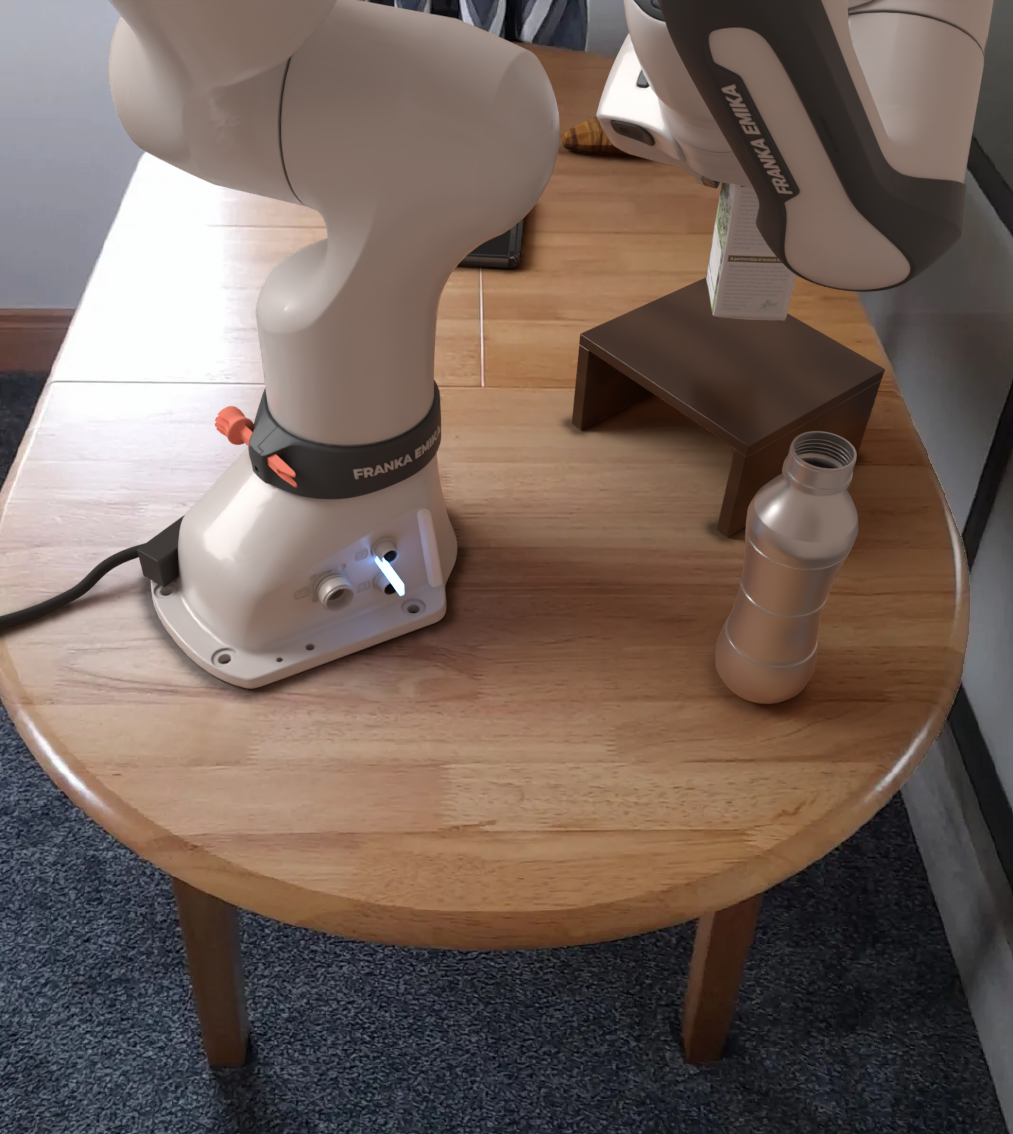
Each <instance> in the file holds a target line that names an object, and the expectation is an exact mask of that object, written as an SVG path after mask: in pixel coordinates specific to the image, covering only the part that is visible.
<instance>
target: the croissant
mask: <svg viewBox="0 0 1013 1134" xmlns="http://www.w3.org/2000/svg"><path fill="white" fill-rule="evenodd" d="M562 147H563V148H564V149H565V150H568V151H573V152H577V153H584V154H585V153H586V154H604V155H617V156H625V155H629V154H628V153H626V152H624V151H622V150H620V149H618V148H617V147H615V146H614V145H613V144H612V143H611V141H610V140H609V138H608V137H607V135H606V133H605V131H604V129H603V127H602V125H601V123H600V122H599V120H598V119H597V116H595V117H591V118H588V119H586V120H584V121H582V122H579V123H577V124H575V125H573V126H572V127H570V128H569V129H567V130H566V131H565V132H563V136H562Z"/></svg>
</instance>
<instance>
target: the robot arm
mask: <svg viewBox="0 0 1013 1134" xmlns="http://www.w3.org/2000/svg"><path fill="white" fill-rule="evenodd" d="M108 1H109V3H110V4H111V6H112V7H113V8H114V9H115V10H116V11H117V13H118V14H119V15H120V16H119V19H118V21H117V22H116V25H115V27H114V30H113V34H112V37H111V41H110V46H109V51H108V62H107V63H108V66H107V67H108V70H107V71H108V82H109V83H108V84H109V89H110V94H111V99H112V103H113V105H114V109H115V112H116V114H117V116H118V120H119V121H120V124H121V125H122V127H123V130H124V132H126V135H127V136H128V137H129V139H130V140H131V141H132V142H133V143H134V144H135V145H136V146H137V147H138V148H139V149H141V150H142V151H143V152H145V153H148V154H149V155H151V156H153V157H154V158H157V159H158V160H160V161H163V162H164V163H167V164H169V165H171V166H173V167H175V168H176V169H179V170H181V171H183V172H185V173H187V174H189V175H191V176H194V177H196V178H198V179H200V180H202V181H205V182H208V183H209V184H211V185H214V186H218V187H222V188H227V189H230V190H234V191H238V192H243V193H247V194H252V195H256V196H261V197H264V198H268V199H273V200H277V201H281V202H284V203H285V202H286V203H289V204H294V205H298V206H302V207H306V208H309V209H311V210H315V211H317V212H318V213H319V214H320V216H321V217H322V219H323V222H324V224H325V229H326V236H327V237H326V238H322V239H320V240H318V241H315V242H312V243H310V244H307V245H305V246H303V247H301V248H299V249H297V250H295V251H293V252H291V253H289V254H288V255H287V256H285V257H284V258H282V259H281V260H280V261H279V262H278V263H277V264H276V265H275V266H274V267H273V268H272V269H271V270H270V271H269V273H268V275H267V276H266V278H265V280H264V282H263V283H262V285H261V287H260V288H261V289H260V291H259V293H258V297H257V301H256V307H255V319H256V320H255V321H256V329H257V335H258V343H259V350H260V359H261V367H262V374H263V381H264V389H263V392H262V394H261V398H260V401H259V404H258V408H257V410H256V414H255V418H254V422H253V420H251V418H248V417H246V415H245V414H244V413H243V411H242V410H241V409H240V408H238V406H234V405H229V406H226V407H224V408H222V409H221V410H220V411H219V412H218V413H217V416H216V417H215V419H214V422H215V423H214V426H215V430H216V431H217V432H219V433H220V434H221V435H223V436H225V437H226V438H227V440H228V442H229V443H230V444H232V445H233V446H240V445H244V444H245V445H246V446H248V447H246V449H244V450H243V452H241V454H239V456H238V457H237V458H236V459H235V460H234V461H233V462H232V463H231V464H230V466H228V468H226V470H225V471H224V472H223V473H222V474H221V475H220V477H219V478H217V479H216V481H215V482H214V483H213V484H212V485H211V486H210V487H209V488H208V489H207V490H206V491H205V492H204V494H202V496H201V497H200V498H198V500H196V502H194V504H193V505H192V506H190V508H189V509H187V511H186V512H185V514H184V515H182V516H181V517H180V518H178V519H177V520H175V521H174V522H173V523H171V524H170V525H168V526H167V527H165V528H164V529H163V530H162V531H160V532H159V533H158V534H156V535H155V536H153V537H152V538H150V539H149V540H148V541H146V542H144V543H140V544H137V545H134V546H131V547H128V548H125V549H123V550H121V551H118V552H116V553H114V554H112V555H109V556H108V557H107V558H105V559H104V560H102V561H101V562H99V563H98V564H97V565H96V566H94V568H93V569H91V571H89V573H88V574H87V575H85V577H83V578H82V579H81V581H79V582H78V583H77V584H75V585H74V586H73V587H70V588H69V589H67V590H65V591H63V592H61V593H60V594H57V595H55V596H53V597H52V598H48V599H47V600H45V601H43V602H40V603H38V604H34V605H32V606H29V607H27V608H24V609H21V610H18V611H14V612H11V613H6V614H4V615H0V630H2V629H5V628H9V627H13V626H16V625H20V624H22V623H26V622H29V621H31V620H34V619H35V620H36V619H38V618H40V617H42V616H44V615H47V614H50V613H52V612H54V611H57V610H58V609H60V608H63V607H64V606H67V605H68V604H71V603H72V602H75V601H76V600H79V599H80V598H81V597H83V596H84V595H85V594H87V593H88V592H89V591H90V590H91V589H92V588H94V586H95V585H96V584H98V582H99V581H100V580H101V579H103V578H104V577H105V576H106V575H107V574H108V573H109V572H110V571H112V570H113V569H115V568H117V567H118V566H121V565H123V564H125V563H127V562H130V561H132V560H136V559H139V563H140V564H139V565H140V567H141V571H142V576H144V577H146V578H147V579H148V580H150V591H151V600H152V603H153V609H154V610H155V612H156V615H157V617H158V619H159V621H160V623H161V624H162V626H163V627H164V629H165V630H166V632H167V633H168V635H169V636H170V637H171V638H172V640H173V642H174V643H176V645H177V646H178V647H179V648H180V649H181V650H182V652H184V653H185V655H186V656H188V657H189V659H191V660H192V661H193V662H194V663H195V664H196V665H197V666H199V667H200V668H201V669H203V670H204V671H205V672H207V673H208V674H210V675H212V676H213V677H215V678H217V679H219V680H221V681H224V682H226V683H228V684H231V685H234V686H236V687H240V688H244V689H248V690H249V689H250V690H252V689H258V688H261V687H264V686H267V685H270V684H273V683H275V682H278V681H280V680H284V679H286V678H289V677H292V676H294V675H297V674H300V673H302V672H303V673H304V672H306V671H308V670H311V669H314V668H316V667H319V666H322V665H324V664H327V663H330V662H332V661H335V660H338V659H340V658H341V659H342V658H344V657H346V656H349V655H351V654H355V653H357V652H361V651H362V650H366V649H368V648H371V647H373V646H376V645H378V644H381V643H384V642H388V641H390V640H392V639H396V638H398V637H400V636H403V635H405V634H409V633H411V632H414V631H417V630H419V629H422V628H425V627H428V626H430V625H433V624H436V623H438V622H440V621H441V620H442V619H443V618H444V617H445V615H446V613H447V606H448V605H447V594H446V586H447V582H448V579H449V578H450V575H451V574H452V571H453V569H454V567H455V564H456V561H457V555H458V540H457V535H456V531H455V530H454V527H453V525H452V523H451V521H450V517H449V514H448V511H447V507H446V504H445V500H444V499H445V498H444V495H443V490H442V484H441V478H440V471H439V463H438V450H439V448H440V445H441V442H442V408H441V394H440V393H441V392H440V387H439V385H438V383H437V381H436V379H435V355H436V354H435V353H436V351H435V350H436V337H437V336H436V334H437V324H438V323H437V321H438V312H439V306H440V300H441V297H442V294H443V291H444V289H445V286H446V284H447V282H448V280H449V278H450V276H451V275H452V273H453V272H454V271H455V269H456V268H457V267H458V266H459V265H458V264H459V263H460V262H461V261H462V260H463V259H464V258H465V257H466V256H467V255H468V254H469V253H470V252H471V251H473V250H474V249H475V248H477V247H478V246H479V245H481V244H483V243H485V242H486V241H488V240H490V239H492V238H495V237H497V236H499V235H502V234H503V233H505V232H506V231H508V230H509V229H511V228H512V227H514V226H515V225H516V224H517V223H518V222H520V221H521V220H522V219H523V218H525V217H526V216H527V215H528V214H529V213H530V212H531V211H532V209H533V208H534V207H535V206H536V204H537V203H538V202H539V200H540V199H541V197H542V196H543V194H544V192H545V190H546V189H547V186H548V185H549V183H550V181H551V178H552V176H553V173H554V170H555V166H556V162H557V158H558V154H559V148H560V137H561V127H560V125H561V124H560V123H561V122H560V113H559V107H558V102H557V97H556V94H555V91H554V88H553V85H552V82H551V80H550V78H549V75H548V73H547V71H546V69H545V68H544V65H543V64H542V63H541V61H540V59H539V58H538V57H537V55H536V54H535V53H534V52H532V51H531V50H529V49H527V48H524V47H522V46H521V45H518V44H515V43H514V42H511V41H509V40H507V39H505V38H502V37H501V36H499V35H496V34H494V33H492V32H489V31H487V30H485V29H483V28H480V27H478V26H476V25H473V24H471V23H468V22H465V21H464V20H462V19H459V18H456V17H450V16H444V15H440V14H433V13H428V12H423V11H417V10H412V9H407V8H402V7H397V6H392V5H386V4H381V3H376V2H370V1H366V0H108ZM622 2H623V8H624V15H625V21H626V25H627V28H628V33H627V35H626V37H625V39H624V41H623V44H622V45H621V47H620V49H619V51H618V53H617V55H616V57H615V59H614V62H613V64H612V66H611V68H610V71H609V73H608V77H607V78H606V81H605V83H604V87H603V90H602V94H601V96H600V100H599V103H598V105H597V106H598V107H597V111H596V113H595V115H596V116H595V117H597V119H598V120H599V122H600V123H601V125H602V127H603V129H604V131H605V133H606V135H607V137H608V138H609V140H610V141H611V143H612V144H613V145H614V146H615V147H617V148H618V149H620V150H622V151H624V152H626V153H628V154H627V155H631V156H635V157H639V158H642V159H646V160H648V161H649V160H650V161H653V162H657V163H660V164H663V165H667V166H671V167H673V168H677V169H682V170H683V171H685V172H686V173H689V174H690V175H691V176H693V177H694V179H695V181H696V183H697V184H698V185H701V186H705V187H708V188H712V189H718V188H719V186H720V184H722V183H732V184H737V185H740V186H744V187H748V188H751V189H754V190H755V192H756V195H757V197H758V201H759V209H758V214H757V218H756V226H757V228H758V230H759V232H760V234H761V235H762V237H763V239H764V240H765V242H766V243H767V245H768V246H769V248H770V249H771V250H772V252H773V253H774V254H775V255H776V256H777V258H778V259H779V260H780V261H781V262H782V263H783V264H784V265H785V266H786V267H787V268H788V269H789V270H790V271H791V272H793V273H794V274H796V277H799V278H801V279H803V280H804V281H807V282H809V283H812V284H814V285H816V286H817V285H818V286H820V287H825V288H829V289H832V290H838V291H846V292H856V293H857V292H858V293H871V292H881V291H886V290H891V289H896V288H898V287H901V286H903V285H905V284H906V283H908V282H910V281H912V279H914V278H916V277H917V276H919V275H920V274H921V273H923V272H924V271H926V270H927V269H928V268H929V267H931V266H932V265H934V263H936V262H937V261H938V260H939V259H940V258H941V257H943V256H944V255H945V254H946V253H947V252H948V251H949V250H950V249H951V248H952V247H953V246H954V245H955V244H956V243H957V242H958V241H959V240H960V239H961V237H962V235H963V224H964V212H965V203H966V202H965V200H966V191H967V184H965V178H966V172H967V168H968V161H969V156H970V149H971V143H972V137H973V132H974V127H975V126H974V125H975V120H976V114H977V107H978V102H979V97H980V96H979V95H980V90H981V85H982V79H983V74H984V73H983V72H984V67H985V56H986V48H987V44H988V38H989V33H990V25H991V19H992V12H993V7H994V0H622ZM523 220H524V219H523ZM413 612H414V613H413Z"/></svg>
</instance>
